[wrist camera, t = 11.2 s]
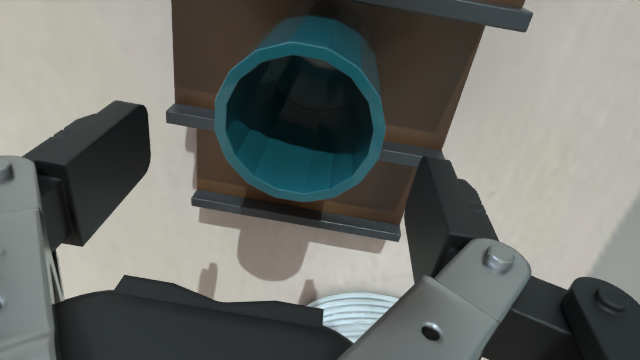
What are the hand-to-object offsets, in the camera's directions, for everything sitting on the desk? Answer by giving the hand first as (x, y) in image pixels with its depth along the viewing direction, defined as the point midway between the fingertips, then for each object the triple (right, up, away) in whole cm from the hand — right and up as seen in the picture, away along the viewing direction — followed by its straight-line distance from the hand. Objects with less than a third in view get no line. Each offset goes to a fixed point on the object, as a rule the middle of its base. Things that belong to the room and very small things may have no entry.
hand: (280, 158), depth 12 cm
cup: (+1, +5, +9) cm, 10 cm away
